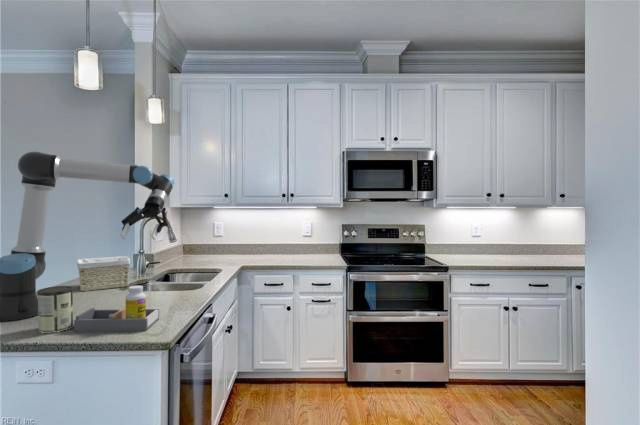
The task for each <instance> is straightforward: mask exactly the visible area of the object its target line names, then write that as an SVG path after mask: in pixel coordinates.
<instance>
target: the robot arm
mask: <svg viewBox="0 0 640 425" xmlns="http://www.w3.org/2000/svg"><path fill="white" fill-rule="evenodd" d="M17 169H18V171H19V173H20V174H21V175H22V176H21V185H22V186H23V187H24V196H23V201H22V209H21V214H20V220H19V221H20V222H19V229H18V235H17V242H16V246H14V247H13V248H11V250H10V254H7V255H3V256H1V257H0V322H9V321H8V320H13V321H18V320H17V319H20V320H24V319H23V318H26V319H29V318H28V317H30V318H33V317H32V316H34V317H35V315H36V316H38V295H37V288H36V286H37V285H36V283H37V282H36V280H38V278H40V277H41V276H42V275H43V274H44V272H45V270H46V267H47V262H46V260H45V259H46V253H47V252H46V250H45V248H44V247H43V241H44V235H45V231H46V230H45V228H46V223H47V222H46V221H47V216H48V215H47V214H48V209H49V208H48V207H49V200H50V194H51V191H52V190H54V189H56V183H57V180H58V179H60V178H64V179H65V178H68V179H79V180H90V181H91V180H93V181H102V182H114V183H116V182H118V183H126V184H127V183H129V184H138V185H140V186H142V187H144V188H146V189H148V190H150V191H151V192H150V194H149V195H148V197H147V199H146V201H145V203H144V205H143V206H144V207H142V208H139V207H138V206H137V207H135V209H134V210H133V211H132V212H131V213H130V214H128V215H127V216H126V217H125V218H123V219H122V220H121V223H122V225H123V227H122V228H121V232H120V233H119V236H120V237H121V238H122V240H125V239H126V237H127V236H128V234H129V231H130V229H132V228H131V226H133V225H134V224H136V223H138V222H140V221H141V220H145V219H153V218H155V219H156V222H157V223H156V224H155V226H154V229H153V230H152V233H151V234H150V236H151V238H152V240H153V241H154V240H156V239H157V236H158V235H159V233H161V231H162V229H163V228H164V227H166V228H167V227H168V226H169V223H168V218H167V214H168V210H167V208H166V207H164V206H165V204H166V202H167V200H168V198H169V195H170V194H171V192H172V190H173V188H174V185H175V179H174V178H173V176H171V175H169V174H165V173H164V174H160V175H158V174H156V173H155V172H152V169H151V168H150V167H148V166H146V165H145V166H144V165H138V164H134V165H129V164H120V163H113V162H100V161H93V160H92V161H91V160H81V159H71V158H70V159H69V158H63V157H61V156H59V155H58V154H49V153H44V152H41V151H29V152H26V153H24V154H23V155H22V156H21V157H20V158H19V159H18V162H17ZM160 214H161V217H162V221H161V219H160V217H159V216H158V215H160Z"/></svg>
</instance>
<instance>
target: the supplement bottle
mask: <svg viewBox="0 0 640 425" xmlns="http://www.w3.org/2000/svg"><path fill="white" fill-rule="evenodd" d="M143 290H144V286H143V285H131V286H128V294H127V295H126V296H125V307H126V319H141V318H146V309H147V299H146V298H147V296H146V294H145V293H144V292H143Z"/></svg>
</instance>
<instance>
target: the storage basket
mask: <svg viewBox="0 0 640 425" xmlns="http://www.w3.org/2000/svg"><path fill="white" fill-rule="evenodd" d="M130 264H131V258H129V257H128V256H127V255H122V256H107V257H106V256H105V257H93V258H91V257H89V258H78V259H77V260H76V266H77V269H78V275H79V276H78V277H79V287H80V288H79V289H80V292H90V291H99V290H105V289H107V290H109V289H115V288H124V287H130V286H129V281H130V280H129V279H130V277H129V276H130V267H131V266H130Z"/></svg>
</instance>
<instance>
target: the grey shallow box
mask: <svg viewBox="0 0 640 425" xmlns="http://www.w3.org/2000/svg"><path fill="white" fill-rule="evenodd" d="M121 309H122V308H121ZM121 309H116V308H115V309H96V308H95V307H91V308H89V309H87V310H86V311H83V312H81V313H80V314H78V315H75V319H73V328H74V329H73V331H81V332H82V333H84V332H85V333H90V332H94V333H95V332H97V333H98V332H140V331H141V332H142V331H143V332H144V331H145V332H146V331H148V330H149V329H150V328H152V327H153V325H155V324H157V322H158V321H159V320H160V309H159V308H146V318H141V319H109V314H114V313H116V312H118V311H119V310H121ZM81 332H80V333H81Z"/></svg>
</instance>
